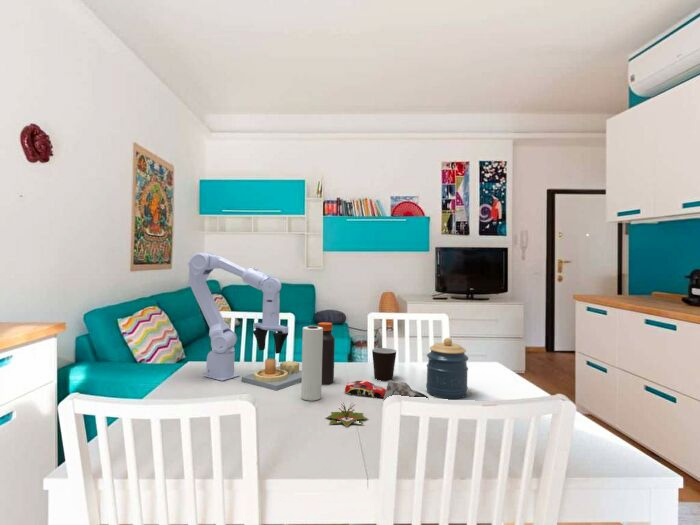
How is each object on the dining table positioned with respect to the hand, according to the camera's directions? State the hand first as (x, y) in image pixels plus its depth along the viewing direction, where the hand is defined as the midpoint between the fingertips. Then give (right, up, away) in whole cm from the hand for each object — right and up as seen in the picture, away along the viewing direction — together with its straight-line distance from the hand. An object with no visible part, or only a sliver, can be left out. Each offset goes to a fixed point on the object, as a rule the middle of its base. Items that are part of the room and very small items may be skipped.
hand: (269, 351), depth 148 cm
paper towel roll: (+16, -10, -19) cm, 27 cm away
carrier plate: (+3, -9, -1) cm, 10 cm away
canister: (+59, -11, -11) cm, 61 cm away
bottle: (+19, -10, -3) cm, 22 cm away
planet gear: (+1, -8, -4) cm, 9 cm away
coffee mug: (+41, -11, +5) cm, 42 cm away
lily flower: (+27, -11, -36) cm, 46 cm away
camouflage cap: (+45, -11, -23) cm, 52 cm away
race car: (+33, -11, -15) cm, 37 cm away
